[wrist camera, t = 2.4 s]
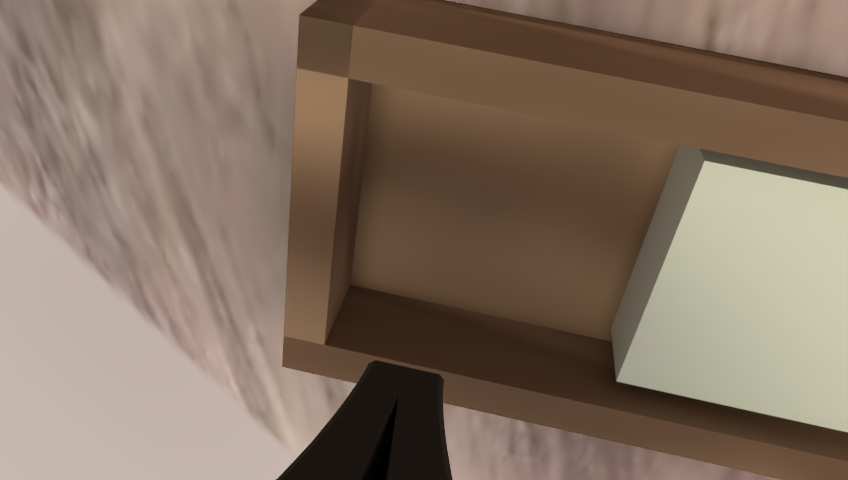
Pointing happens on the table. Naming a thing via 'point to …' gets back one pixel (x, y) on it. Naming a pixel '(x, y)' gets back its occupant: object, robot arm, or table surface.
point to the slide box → (523, 210)
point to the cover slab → (742, 290)
